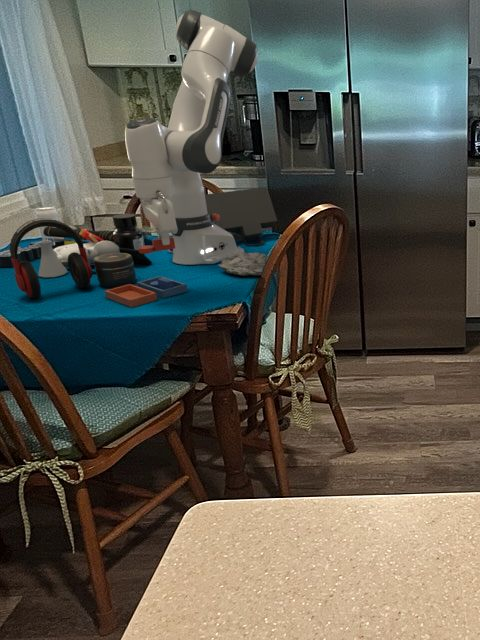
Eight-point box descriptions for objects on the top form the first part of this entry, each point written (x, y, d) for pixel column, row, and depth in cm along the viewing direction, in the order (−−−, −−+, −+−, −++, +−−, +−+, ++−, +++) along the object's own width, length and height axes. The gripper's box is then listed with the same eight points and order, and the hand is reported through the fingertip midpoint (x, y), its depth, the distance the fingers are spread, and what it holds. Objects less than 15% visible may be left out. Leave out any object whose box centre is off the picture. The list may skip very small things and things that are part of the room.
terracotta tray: (106, 297, 174) (104, 290, 174) (131, 290, 180) (130, 283, 179) (131, 307, 168) (130, 300, 167) (157, 299, 173) (156, 292, 172)
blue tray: (138, 289, 181) (136, 282, 180) (161, 282, 186) (160, 276, 185) (163, 298, 174) (162, 291, 173) (187, 291, 179) (186, 284, 178)
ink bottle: (144, 254, 213) (137, 217, 208) (115, 257, 210) (107, 220, 205) (146, 247, 221) (139, 211, 216) (118, 249, 218) (110, 213, 213)
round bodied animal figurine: (76, 271, 195) (69, 244, 192) (117, 263, 203) (111, 236, 200) (86, 276, 191) (79, 248, 187) (127, 268, 199) (121, 240, 195)
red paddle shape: (173, 246, 171) (171, 235, 170) (176, 249, 168) (174, 238, 167) (138, 251, 166) (135, 240, 165) (140, 254, 164) (138, 243, 162)
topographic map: (149, 225, 236) (149, 220, 235) (178, 237, 226) (178, 231, 225) (95, 223, 221) (95, 217, 220) (123, 236, 211) (124, 229, 210)
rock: (259, 255, 207) (214, 271, 199) (256, 243, 204) (210, 258, 197) (284, 273, 195) (237, 290, 188) (281, 260, 193) (233, 277, 186)
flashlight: (47, 235, 218) (129, 241, 225) (42, 240, 214) (125, 246, 220) (46, 223, 216) (128, 229, 223) (40, 227, 212) (125, 233, 218)
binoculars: (110, 257, 210) (107, 243, 208) (57, 268, 198) (53, 253, 197) (95, 251, 216) (92, 237, 214) (43, 262, 205) (39, 247, 203)
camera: (186, 212, 230) (199, 255, 230) (194, 195, 216) (208, 241, 216) (255, 203, 243) (267, 243, 243) (266, 186, 229) (280, 229, 229)
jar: (93, 283, 186) (87, 256, 183) (129, 275, 192) (124, 250, 189) (106, 291, 179) (100, 264, 176) (143, 283, 186) (137, 257, 183)
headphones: (87, 281, 187) (70, 211, 179) (99, 289, 181) (82, 217, 172) (18, 295, 176) (-4, 221, 168) (28, 304, 170) (6, 228, 161)
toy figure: (113, 254, 217) (79, 236, 207) (107, 247, 221) (72, 230, 211) (117, 248, 217) (83, 230, 207) (110, 241, 221) (76, 223, 211)
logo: (47, 237, 220) (72, 239, 218) (49, 247, 221) (74, 249, 219) (-13, 255, 199) (14, 257, 197) (-10, 265, 200) (17, 268, 198)
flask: (55, 279, 189) (46, 245, 185) (33, 277, 191) (24, 243, 186) (72, 271, 196) (64, 239, 192) (52, 270, 197) (43, 237, 193)
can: (68, 241, 229) (59, 207, 224) (49, 245, 224) (40, 210, 219) (58, 238, 232) (49, 205, 227) (39, 242, 227) (30, 208, 222)
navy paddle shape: (177, 289, 179) (176, 279, 178) (165, 293, 176) (164, 283, 175) (160, 283, 184) (158, 274, 182) (148, 287, 181) (146, 277, 180)
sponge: (56, 241, 211) (57, 250, 212) (83, 240, 210) (83, 249, 211) (77, 242, 221) (78, 251, 221) (102, 242, 220) (103, 250, 221)
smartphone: (115, 258, 208) (153, 263, 203) (114, 260, 207) (152, 264, 203) (99, 245, 201) (139, 249, 197) (98, 247, 201) (138, 251, 197)
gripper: (177, 193, 156) (187, 250, 161) (158, 181, 171) (168, 233, 177) (149, 196, 152) (160, 253, 158) (132, 183, 168) (143, 236, 174)
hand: (164, 243), depth 168 cm, fingers closed on red paddle shape
